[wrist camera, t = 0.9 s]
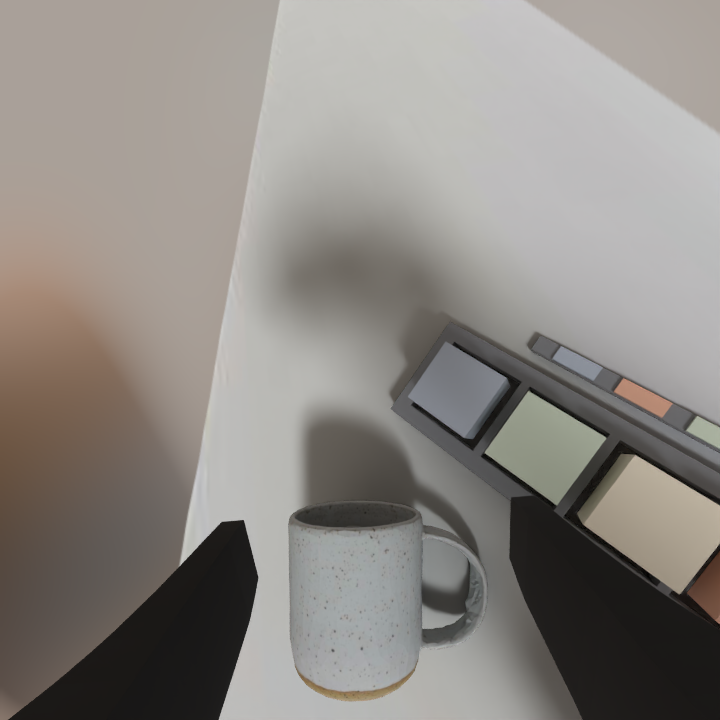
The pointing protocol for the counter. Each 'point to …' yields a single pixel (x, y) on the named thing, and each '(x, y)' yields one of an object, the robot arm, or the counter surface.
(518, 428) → the sage key
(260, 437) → the counter surface
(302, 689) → the counter surface
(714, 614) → the terracotta key
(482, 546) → the counter surface
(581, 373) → the strip
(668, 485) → the sand key
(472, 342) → the keypad base
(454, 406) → the slate key
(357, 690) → the ceramic mug
